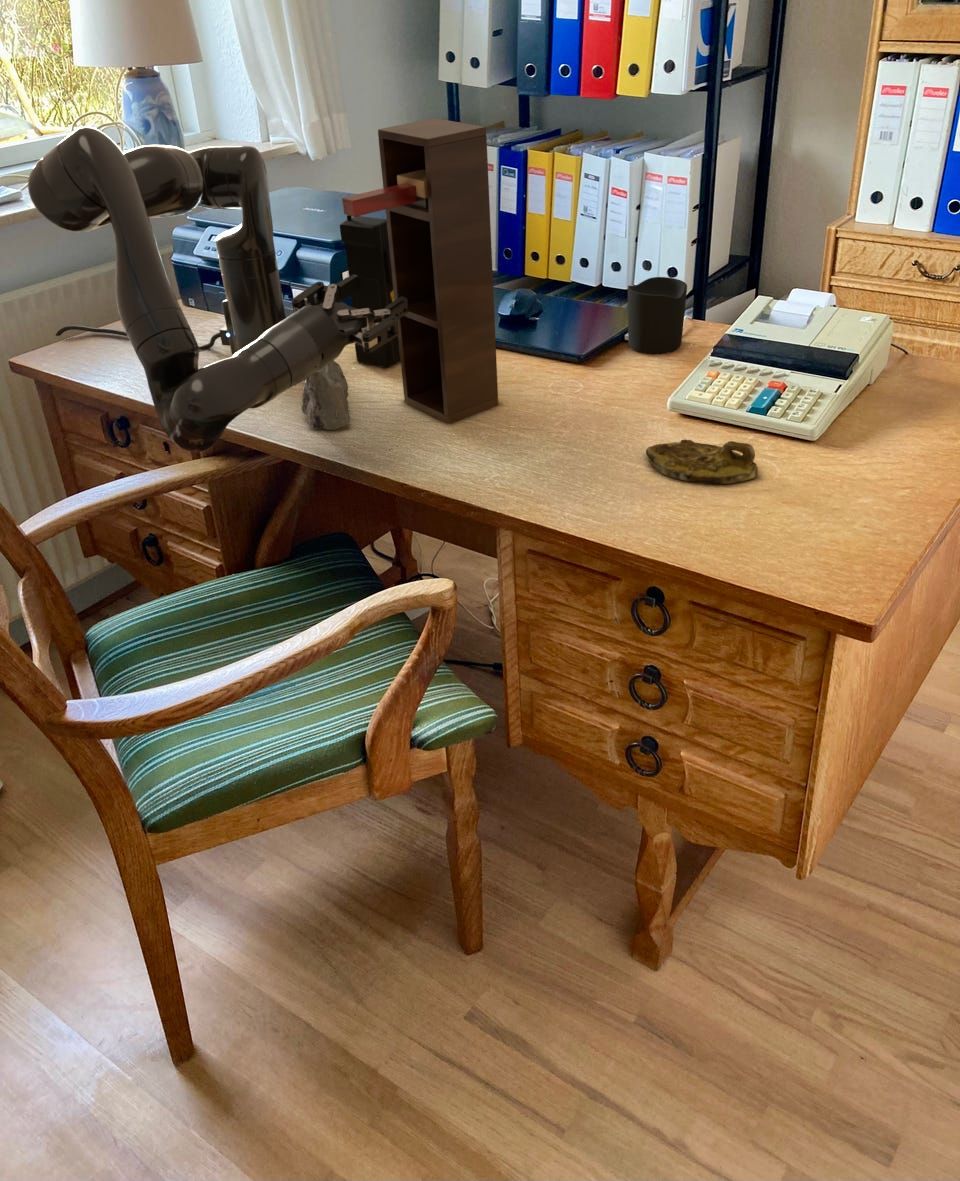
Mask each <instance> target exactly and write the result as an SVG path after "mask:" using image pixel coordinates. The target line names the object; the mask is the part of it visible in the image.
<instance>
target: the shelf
mask: <svg viewBox="0 0 960 1181" xmlns="http://www.w3.org/2000/svg"><path fill="white" fill-rule="evenodd" d="M377 137H378V147H379V148H378V150H379V158H380V160H379V161H380V168H381V179H382V188H387V187H391V186H395V185H398V182H397V175H400V174H405V173H409V172H413V171H418V170H422V169H426V181H427V194H428V207H429V209H423V208H420V207H416V206H412V205H408V204H405V205H401V206H397V207H393V208H389V209H385V210H384V211H385V219H386V220H387V230H388V240H389V250H390V260H391V270H392V281H393V291H394V301H395V300H396V299H398V298H399V297H401V296H403V297H406V298H407V300H408V312H407V314H406V315H404V316H403V317H401V318H400V319H399V320H398V330H399V335H398V341H399V351H400V361H399V362H400V371H401V380H402V392H403V400H404V404H407V405H409V406H411V407H413V408H414V409H417V410H419V411H421V412H423V413H425V414H428V415H430V416H432V417H433V418H436V419H437V420H439V421H441V422H444V423H445V424H448V425H450V424H453V423H456V422H458V421H460V420H463V419H465V418H467V417H470V416H472V415H476V414H478V413H480V412H483V411H485V410H488V409H491V408H493V407H497V406H498V405H499V387H498V385H499V384H498V362H497V342H496V322H495V321H496V319H495V318H496V317H495V297H494V295H495V294H494V278H493V277H494V275H493V250H492V229H491V228H492V226H491V207H490V206H491V205H490V184H489V182H490V181H489V159H488V157H489V156H488V138H487V127H486V126H483V125H477V124H473V123H472V124H471V123H466V122H460V121H453V120H447V119H441V118H437V117H435V118H429V119H428V118H427V119H423V120H419V121H413V122H408V123H404V124H399V125H393V126H388V127H383V128H378V129H377Z"/></svg>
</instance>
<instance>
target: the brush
mask: <svg viewBox="0 0 960 1181" xmlns="http://www.w3.org/2000/svg"><path fill="white" fill-rule="evenodd" d="M397 182H398V185H395V186H391V187H387V188H383V187H382V188H379V189H375V190H370V191H366V192H362V193H357V194H353V195H349V196H344V197H341V200H342V201H341V202H342V208H343V214H344V215H346V216H347V215H349V216H351V218H353V217H357V216H365V215H369V214H372V213H376V212H380V211H386V210H385V209H389V208H393V207H397V206H401V205H405V204H408V205H412V206H416V207H420V208H423V209H429V207H428V194H427V181H426V169H422V170H418V171H413V172H409V173H405V174H400V175H397Z"/></svg>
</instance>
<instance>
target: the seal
mask: <svg viewBox="0 0 960 1181" xmlns="http://www.w3.org/2000/svg"><path fill="white" fill-rule="evenodd" d="M740 453H741V454H740ZM645 454H646V456H647V457H648V459H649V460H650V464H651V466H652V467H653V469H655V470H656V471H658V472H659V473H660V474H662V475H665V476H666V477H668V478H672V479H675V480H680V481H683V482H697V483H706V484H718V485H719V484H720V485H725V484H727V485H728V484H735V483H736V484H737V483H742V482H745V481H749V480H752V479H755V478H756V477H757V476H758V464H757V463H756V462H754V460H755V457H756V451H755V449H754V447H753V445H752V444H749V443H746V442H738V441H733V440H731V441H730V440H728V441H727V442H725V443H724V444H723V445H722V446H719V445H715V444H709V443H702V442H695V441H692V440H691V439H681V440H680V441H679V442H669V443H668V442H667V443H658V444H653V445H651V446H648V447H647V448H646V450H645Z"/></svg>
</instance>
